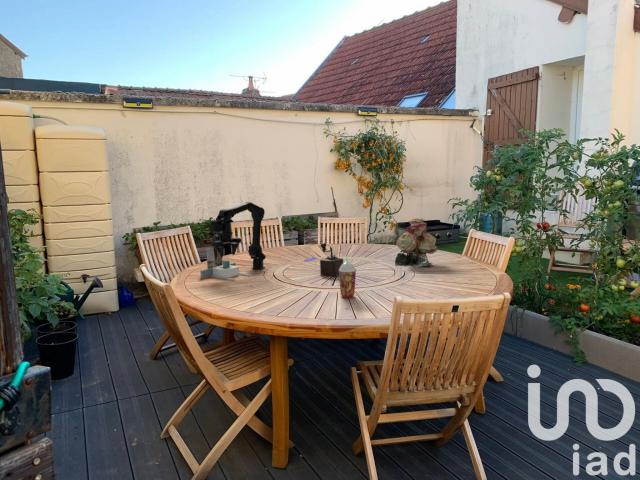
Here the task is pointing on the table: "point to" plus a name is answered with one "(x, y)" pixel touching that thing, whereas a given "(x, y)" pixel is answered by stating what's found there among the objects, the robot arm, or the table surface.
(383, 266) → the table surface
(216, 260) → the coffee box
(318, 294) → the table surface
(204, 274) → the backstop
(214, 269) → the socket block
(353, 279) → the smoothie
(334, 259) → the black box with stems
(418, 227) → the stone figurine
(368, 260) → the table surface
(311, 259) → the booklet
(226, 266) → the dowel
